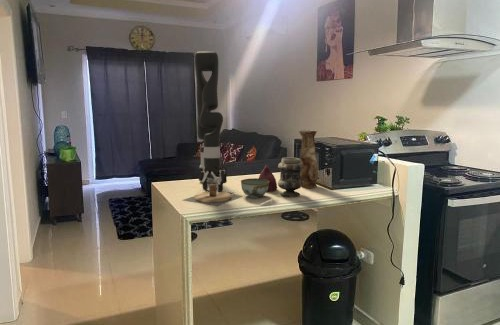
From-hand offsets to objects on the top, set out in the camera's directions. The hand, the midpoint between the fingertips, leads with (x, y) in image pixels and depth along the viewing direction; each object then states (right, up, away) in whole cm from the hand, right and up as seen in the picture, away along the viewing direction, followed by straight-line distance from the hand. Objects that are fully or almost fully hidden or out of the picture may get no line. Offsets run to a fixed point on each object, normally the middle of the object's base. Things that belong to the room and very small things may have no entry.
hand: (212, 191), depth 177 cm
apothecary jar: (+37, -3, +9) cm, 38 cm away
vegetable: (+26, -1, +20) cm, 33 cm away
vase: (+48, 0, +27) cm, 55 cm away
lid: (0, -3, +1) cm, 4 cm away
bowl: (+20, -4, +4) cm, 20 cm away
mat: (0, -4, +1) cm, 4 cm away
